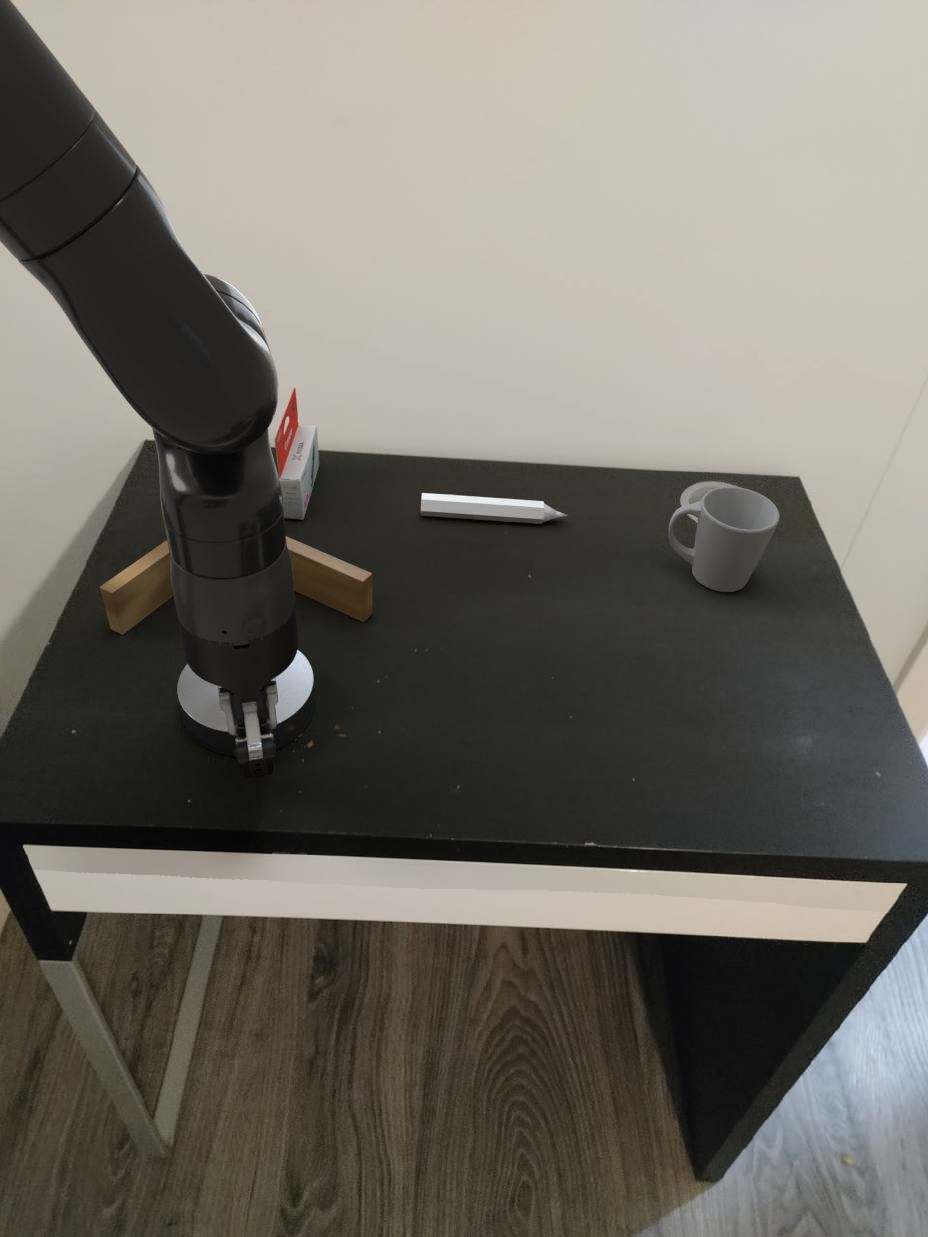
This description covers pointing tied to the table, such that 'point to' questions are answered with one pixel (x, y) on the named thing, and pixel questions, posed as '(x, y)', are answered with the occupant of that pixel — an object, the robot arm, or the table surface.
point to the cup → (727, 536)
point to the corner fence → (312, 576)
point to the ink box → (296, 461)
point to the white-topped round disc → (210, 720)
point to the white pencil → (487, 508)
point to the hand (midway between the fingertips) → (258, 769)
